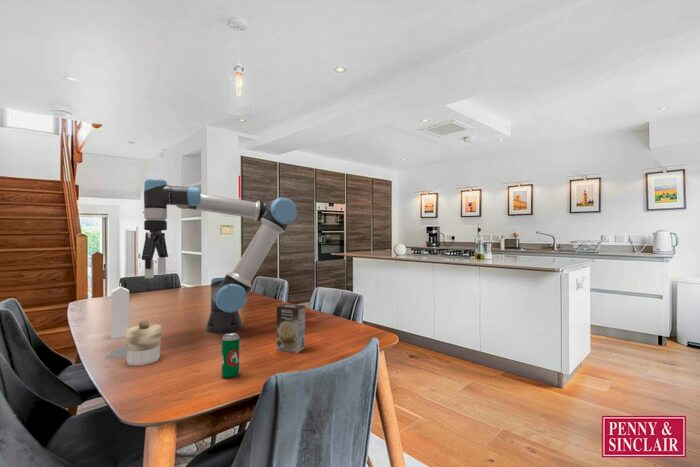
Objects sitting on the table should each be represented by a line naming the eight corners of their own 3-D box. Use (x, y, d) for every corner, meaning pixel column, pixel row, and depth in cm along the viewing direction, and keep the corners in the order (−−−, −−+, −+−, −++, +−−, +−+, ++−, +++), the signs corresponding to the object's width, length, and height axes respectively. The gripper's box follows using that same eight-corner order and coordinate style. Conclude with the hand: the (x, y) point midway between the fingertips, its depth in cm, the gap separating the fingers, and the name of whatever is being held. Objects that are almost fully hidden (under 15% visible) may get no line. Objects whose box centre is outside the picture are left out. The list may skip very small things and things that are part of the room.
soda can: (224, 372, 102) (224, 332, 103) (241, 371, 103) (241, 332, 103) (219, 379, 97) (219, 337, 98) (237, 378, 98) (237, 337, 98)
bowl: (163, 355, 116) (163, 341, 117) (153, 365, 108) (153, 349, 108) (134, 357, 115) (134, 342, 115) (121, 367, 106) (121, 351, 106)
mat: (156, 345, 127) (156, 344, 127) (143, 356, 116) (143, 355, 116) (121, 347, 125) (121, 346, 125) (104, 358, 113) (104, 357, 113)
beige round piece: (165, 340, 117) (165, 317, 117) (154, 350, 107) (154, 325, 107) (133, 342, 115) (134, 319, 115) (119, 352, 105) (119, 326, 106)
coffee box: (275, 350, 123) (275, 306, 123) (284, 345, 129) (284, 303, 129) (297, 353, 120) (298, 308, 120) (305, 347, 126) (306, 304, 126)
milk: (111, 340, 134) (111, 284, 135) (110, 336, 139) (110, 283, 139) (129, 337, 138) (129, 283, 138) (128, 333, 143) (128, 281, 143)
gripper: (156, 221, 140) (156, 272, 139) (130, 218, 115) (130, 280, 115) (175, 221, 141) (176, 272, 141) (155, 218, 117) (155, 279, 117)
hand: (155, 275), depth 128 cm, fingers open, 13 cm apart
